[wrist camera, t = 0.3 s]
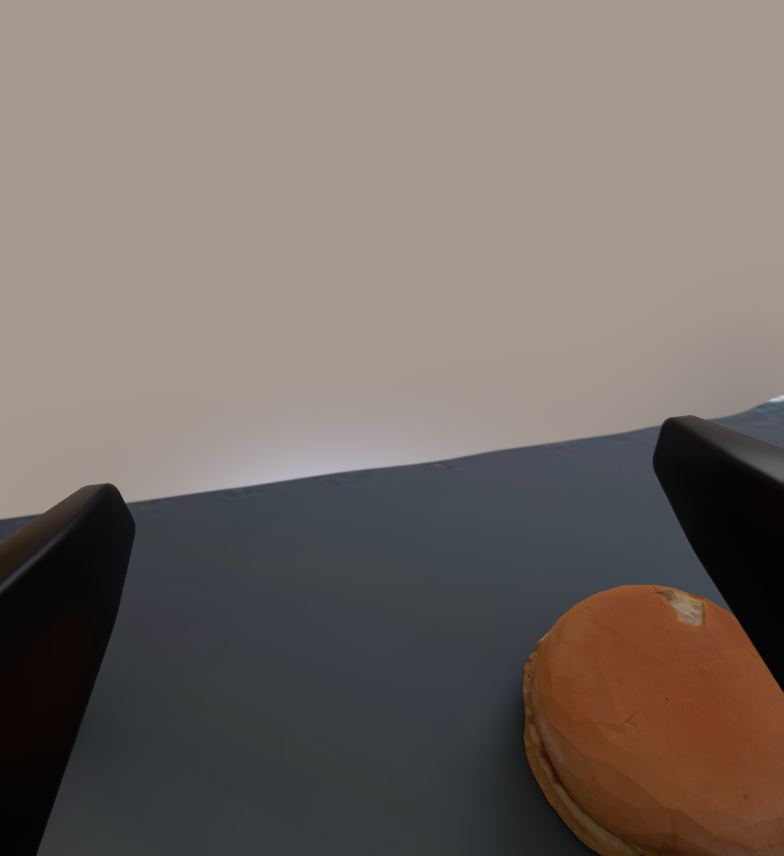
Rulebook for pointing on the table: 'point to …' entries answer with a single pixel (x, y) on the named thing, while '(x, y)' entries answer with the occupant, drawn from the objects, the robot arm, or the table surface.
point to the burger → (657, 727)
